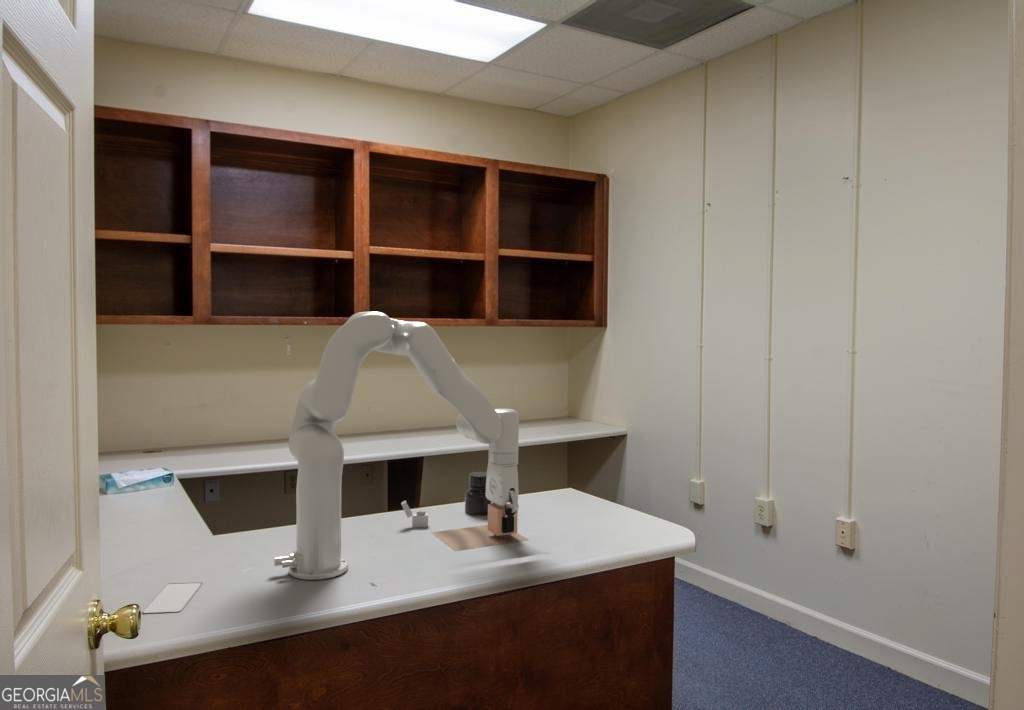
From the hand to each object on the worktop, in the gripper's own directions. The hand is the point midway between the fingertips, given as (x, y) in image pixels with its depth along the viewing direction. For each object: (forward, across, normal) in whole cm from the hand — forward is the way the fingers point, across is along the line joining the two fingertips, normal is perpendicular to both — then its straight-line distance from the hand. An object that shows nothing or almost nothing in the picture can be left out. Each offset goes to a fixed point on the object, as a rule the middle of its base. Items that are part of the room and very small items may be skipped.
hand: (502, 528), depth 176 cm
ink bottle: (+4, -24, +5) cm, 25 cm away
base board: (+3, -3, -5) cm, 7 cm away
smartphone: (+4, +4, -75) cm, 75 cm away
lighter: (+4, -18, -17) cm, 25 cm away
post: (+2, 0, 0) cm, 2 cm away
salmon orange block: (+1, 0, 0) cm, 1 cm away
